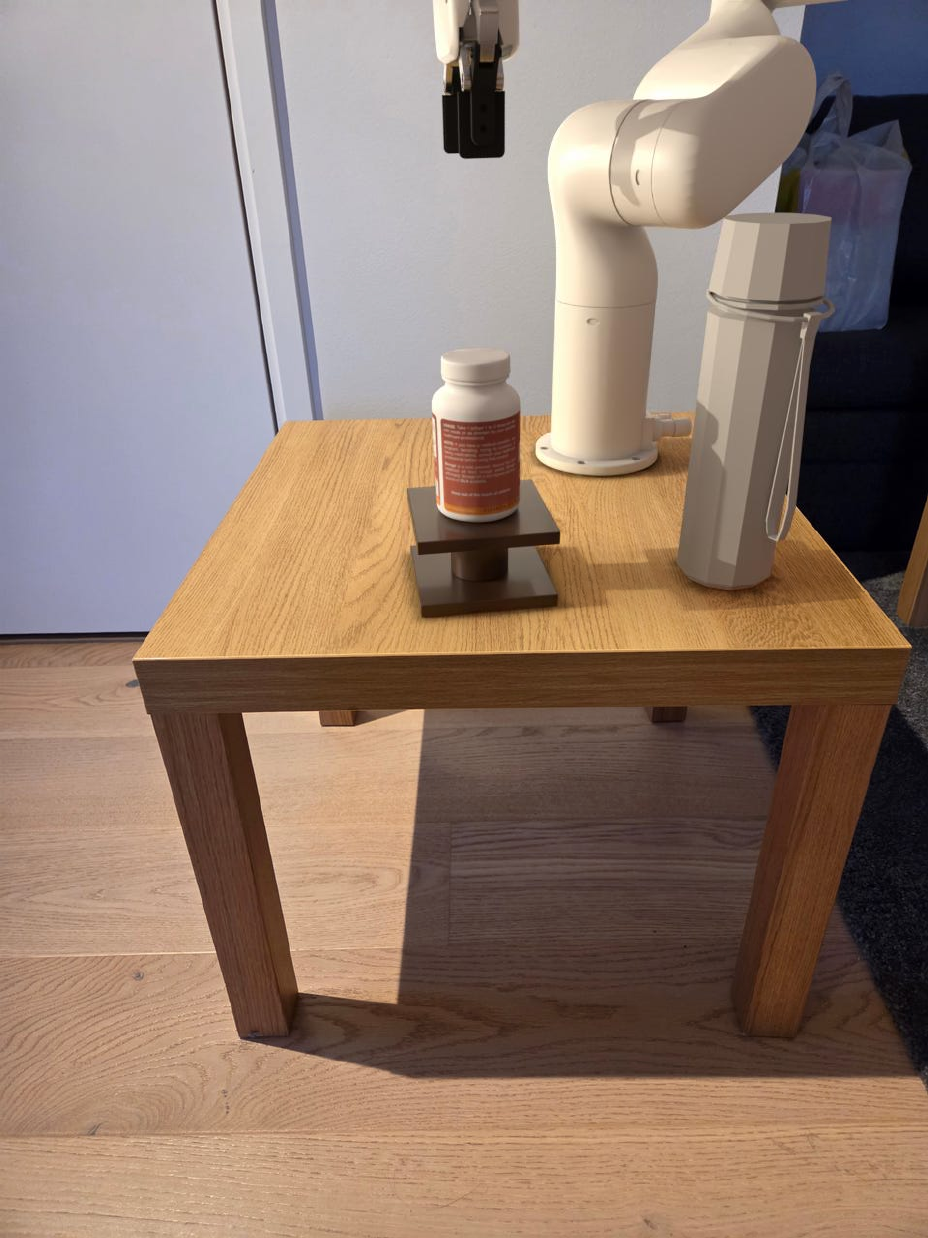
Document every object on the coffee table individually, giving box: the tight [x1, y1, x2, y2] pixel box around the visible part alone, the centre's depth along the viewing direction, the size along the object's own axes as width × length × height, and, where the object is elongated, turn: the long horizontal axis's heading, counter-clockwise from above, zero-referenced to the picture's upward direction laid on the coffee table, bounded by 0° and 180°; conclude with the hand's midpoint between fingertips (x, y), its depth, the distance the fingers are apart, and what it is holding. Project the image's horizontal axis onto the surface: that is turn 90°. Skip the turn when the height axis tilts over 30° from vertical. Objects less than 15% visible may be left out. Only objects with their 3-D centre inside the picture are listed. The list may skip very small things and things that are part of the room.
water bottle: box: [676, 212, 836, 591], centre depth 58 cm, size 9×8×25 cm
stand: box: [406, 478, 561, 619], centre depth 64 cm, size 10×10×6 cm
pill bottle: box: [431, 347, 522, 522], centre depth 59 cm, size 6×6×11 cm
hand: (472, 155), depth 64 cm, fingers open, 9 cm apart
